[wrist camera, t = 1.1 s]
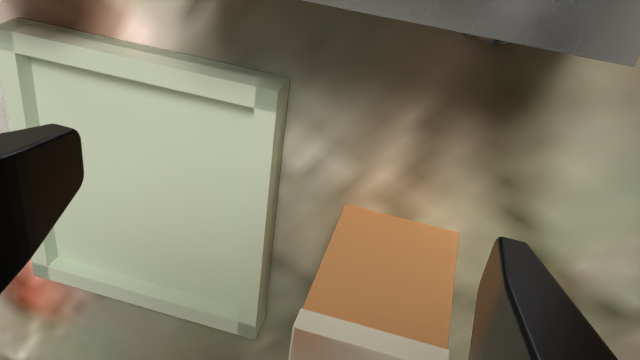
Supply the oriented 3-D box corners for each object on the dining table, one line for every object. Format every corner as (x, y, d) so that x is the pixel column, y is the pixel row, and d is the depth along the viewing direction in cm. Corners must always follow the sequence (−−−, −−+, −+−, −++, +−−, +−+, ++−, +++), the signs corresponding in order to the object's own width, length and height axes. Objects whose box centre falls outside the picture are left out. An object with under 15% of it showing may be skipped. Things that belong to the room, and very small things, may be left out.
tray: (264, 318, 28) (254, 339, 27) (52, 257, 29) (34, 275, 28) (290, 77, 21) (277, 91, 20) (17, 17, 23) (-8, 27, 22)
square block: (433, 318, 25) (413, 465, 19) (328, 289, 26) (279, 423, 20) (460, 231, 23) (447, 370, 17) (344, 202, 23) (292, 326, 18)
